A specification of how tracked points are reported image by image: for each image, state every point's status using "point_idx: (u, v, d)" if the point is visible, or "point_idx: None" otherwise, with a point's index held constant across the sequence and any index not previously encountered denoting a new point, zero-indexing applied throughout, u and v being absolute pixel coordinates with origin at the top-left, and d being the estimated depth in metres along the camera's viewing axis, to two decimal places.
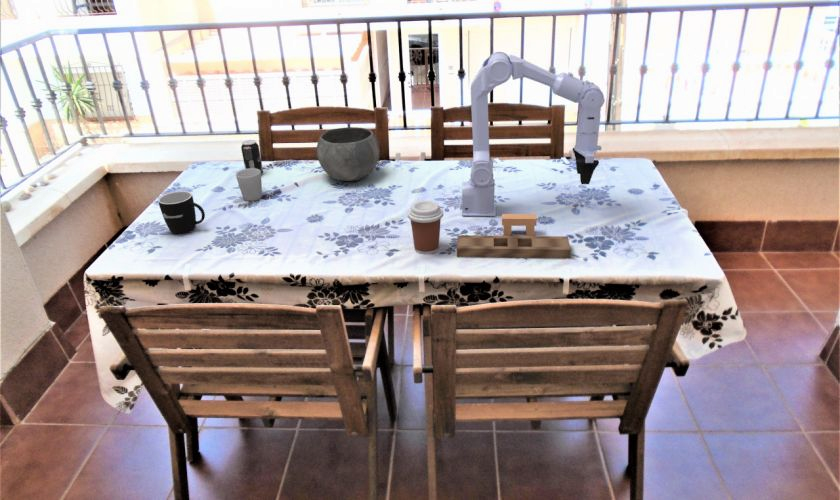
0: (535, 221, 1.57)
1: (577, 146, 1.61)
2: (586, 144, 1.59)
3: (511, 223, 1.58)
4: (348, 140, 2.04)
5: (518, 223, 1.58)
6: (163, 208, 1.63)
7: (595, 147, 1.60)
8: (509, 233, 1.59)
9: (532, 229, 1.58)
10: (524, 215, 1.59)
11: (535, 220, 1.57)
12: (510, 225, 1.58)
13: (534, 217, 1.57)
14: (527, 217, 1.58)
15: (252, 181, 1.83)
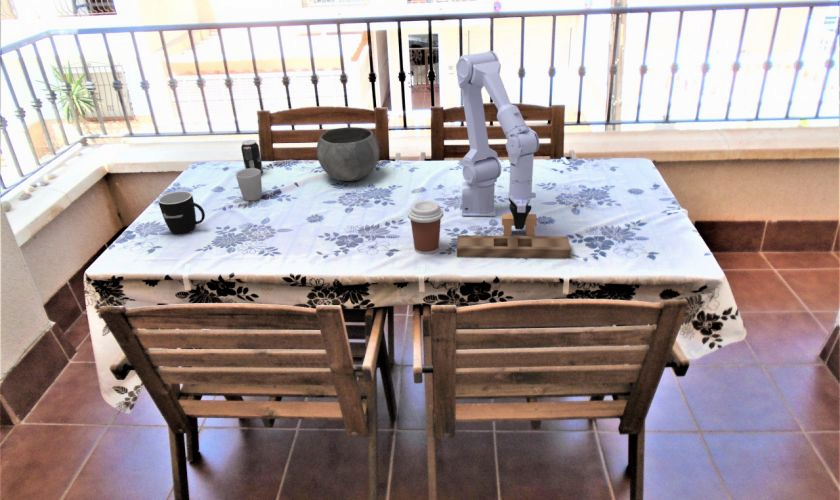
0: (535, 221, 1.57)
1: (510, 194, 1.54)
2: (519, 193, 1.52)
3: (511, 223, 1.58)
4: (348, 140, 2.04)
5: None
6: (163, 208, 1.63)
7: (529, 195, 1.53)
8: (509, 233, 1.59)
9: (532, 229, 1.58)
10: None
11: (535, 220, 1.57)
12: (510, 225, 1.58)
13: (534, 217, 1.57)
14: (527, 217, 1.58)
15: (252, 181, 1.83)
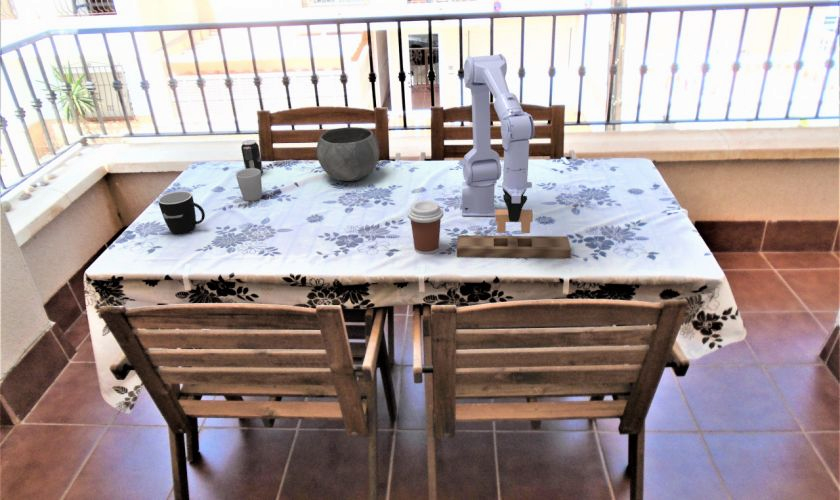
0: (531, 217, 1.46)
1: (504, 183, 1.42)
2: (514, 182, 1.40)
3: (505, 219, 1.47)
4: (348, 140, 2.04)
5: None
6: (163, 208, 1.63)
7: (524, 184, 1.41)
8: (503, 230, 1.48)
9: (528, 226, 1.47)
10: None
11: (531, 216, 1.45)
12: (504, 222, 1.47)
13: (530, 213, 1.46)
14: (522, 213, 1.46)
15: (252, 181, 1.83)
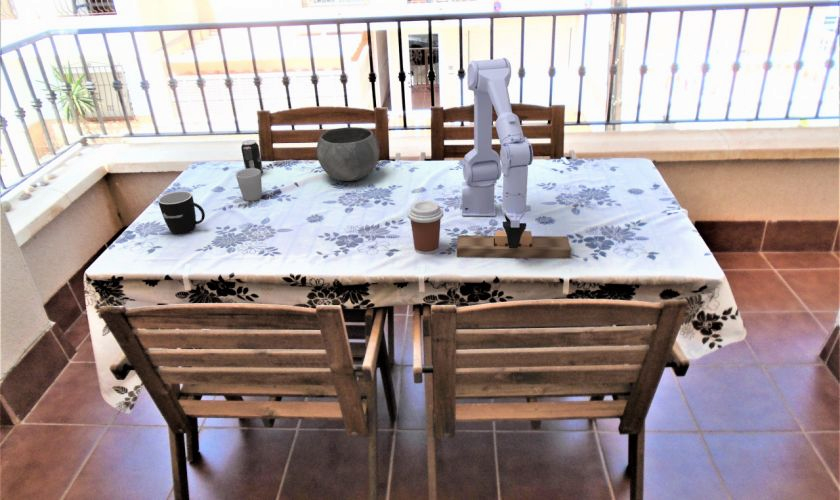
0: (530, 239, 1.48)
1: (504, 207, 1.45)
2: (513, 206, 1.43)
3: (505, 241, 1.49)
4: (348, 140, 2.05)
5: None
6: (163, 208, 1.63)
7: (523, 208, 1.44)
8: None
9: None
10: None
11: (530, 238, 1.48)
12: (503, 243, 1.50)
13: (529, 234, 1.49)
14: (522, 234, 1.49)
15: (252, 181, 1.83)
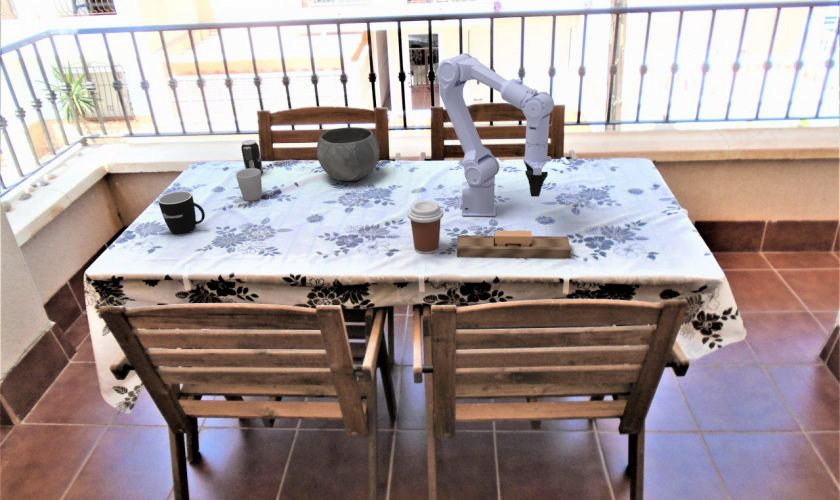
0: (530, 239, 1.48)
1: (526, 157, 1.55)
2: (535, 156, 1.53)
3: (505, 241, 1.49)
4: (348, 140, 2.05)
5: (512, 241, 1.49)
6: (163, 208, 1.63)
7: (544, 158, 1.54)
8: None
9: None
10: (518, 232, 1.50)
11: (530, 238, 1.48)
12: (503, 243, 1.50)
13: (529, 234, 1.49)
14: (522, 234, 1.49)
15: (252, 181, 1.83)
